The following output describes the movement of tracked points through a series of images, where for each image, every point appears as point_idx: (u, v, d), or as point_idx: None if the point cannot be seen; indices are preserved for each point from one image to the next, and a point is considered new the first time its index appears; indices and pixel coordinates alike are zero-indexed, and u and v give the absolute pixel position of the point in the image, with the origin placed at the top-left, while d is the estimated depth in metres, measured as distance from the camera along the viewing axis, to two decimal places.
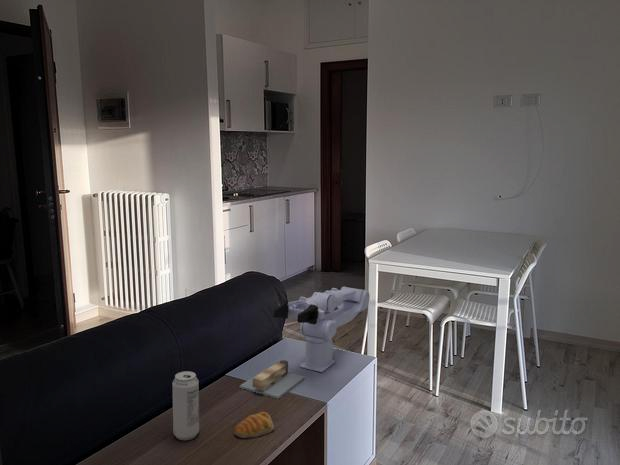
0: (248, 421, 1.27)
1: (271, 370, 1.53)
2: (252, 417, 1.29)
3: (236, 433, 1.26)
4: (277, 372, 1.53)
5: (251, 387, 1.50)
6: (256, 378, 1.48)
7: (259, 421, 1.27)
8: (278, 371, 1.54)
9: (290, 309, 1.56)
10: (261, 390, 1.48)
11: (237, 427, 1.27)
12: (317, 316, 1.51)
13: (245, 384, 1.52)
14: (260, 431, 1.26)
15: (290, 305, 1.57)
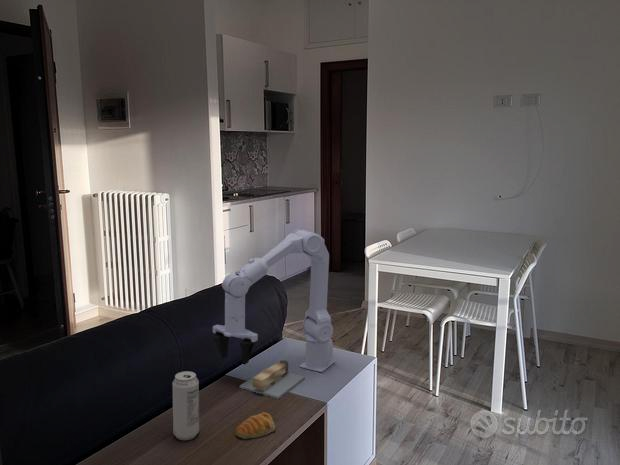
0: (250, 422, 1.27)
1: (271, 370, 1.53)
2: (253, 418, 1.29)
3: (238, 434, 1.25)
4: (277, 372, 1.53)
5: (251, 387, 1.50)
6: (256, 378, 1.48)
7: (260, 422, 1.27)
8: (278, 371, 1.54)
9: None
10: (261, 390, 1.48)
11: (238, 428, 1.26)
12: None
13: (245, 384, 1.52)
14: (262, 432, 1.26)
15: None
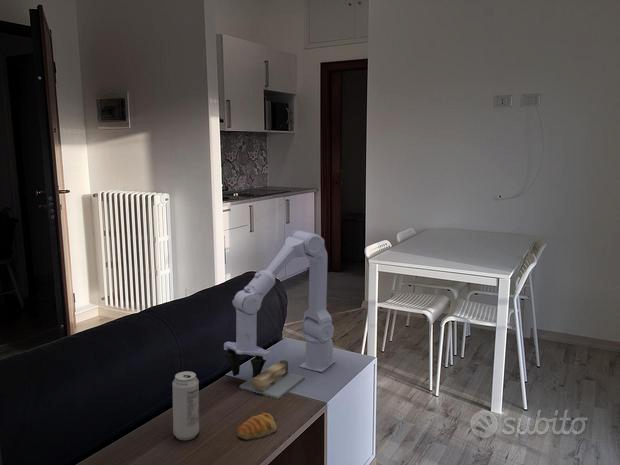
0: (251, 423, 1.27)
1: (271, 370, 1.53)
2: (255, 418, 1.28)
3: (239, 435, 1.25)
4: (277, 372, 1.53)
5: (251, 387, 1.50)
6: (256, 378, 1.48)
7: (262, 422, 1.27)
8: (278, 371, 1.54)
9: None
10: (261, 390, 1.48)
11: (240, 429, 1.26)
12: None
13: (245, 384, 1.52)
14: (263, 432, 1.26)
15: None
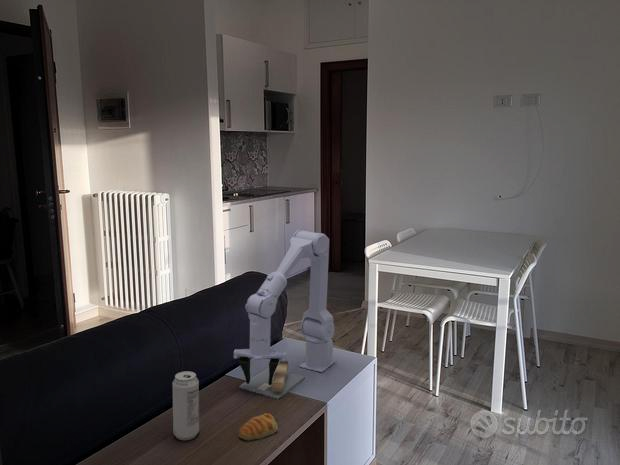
0: (252, 423, 1.27)
1: (281, 372, 1.52)
2: (256, 419, 1.28)
3: (241, 435, 1.25)
4: (286, 372, 1.53)
5: (251, 387, 1.50)
6: (275, 381, 1.46)
7: (263, 423, 1.27)
8: (286, 372, 1.54)
9: None
10: (261, 390, 1.48)
11: (241, 429, 1.26)
12: None
13: (245, 384, 1.52)
14: (265, 433, 1.26)
15: None
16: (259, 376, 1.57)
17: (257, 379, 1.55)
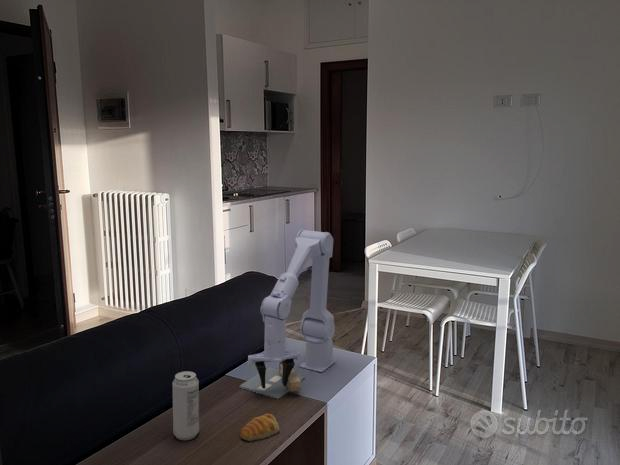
0: (254, 424, 1.26)
1: None
2: (257, 419, 1.28)
3: (242, 436, 1.24)
4: None
5: (251, 387, 1.50)
6: (293, 381, 1.46)
7: (265, 423, 1.27)
8: None
9: None
10: (261, 390, 1.48)
11: (243, 430, 1.25)
12: None
13: (245, 384, 1.52)
14: (266, 433, 1.25)
15: None
16: (259, 376, 1.57)
17: (257, 379, 1.55)
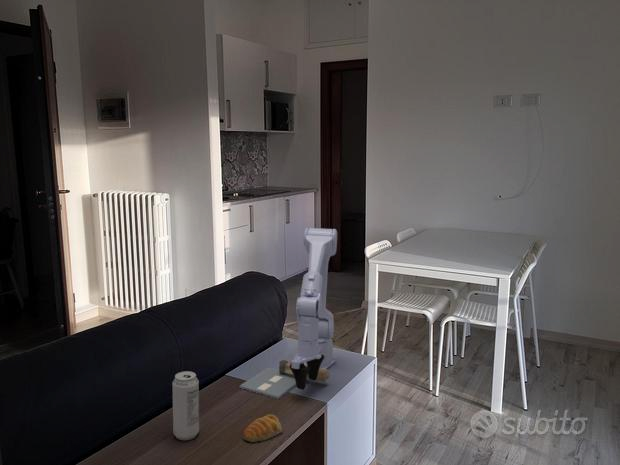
0: (257, 425, 1.26)
1: None
2: (260, 420, 1.27)
3: (246, 437, 1.24)
4: None
5: (251, 387, 1.50)
6: (324, 372, 1.53)
7: (268, 424, 1.26)
8: None
9: None
10: (261, 390, 1.48)
11: (246, 431, 1.25)
12: None
13: (245, 384, 1.52)
14: (270, 434, 1.25)
15: None
16: (259, 376, 1.57)
17: (257, 379, 1.55)
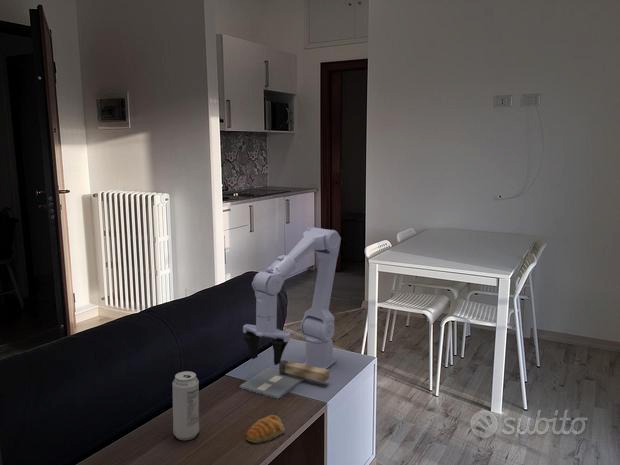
0: (259, 426, 1.26)
1: (305, 366, 1.56)
2: (262, 421, 1.27)
3: (249, 439, 1.23)
4: None
5: (251, 387, 1.50)
6: (324, 372, 1.53)
7: (270, 424, 1.26)
8: None
9: None
10: (261, 390, 1.48)
11: (249, 432, 1.24)
12: None
13: (245, 384, 1.52)
14: (273, 434, 1.25)
15: None
16: (259, 376, 1.57)
17: (257, 379, 1.55)
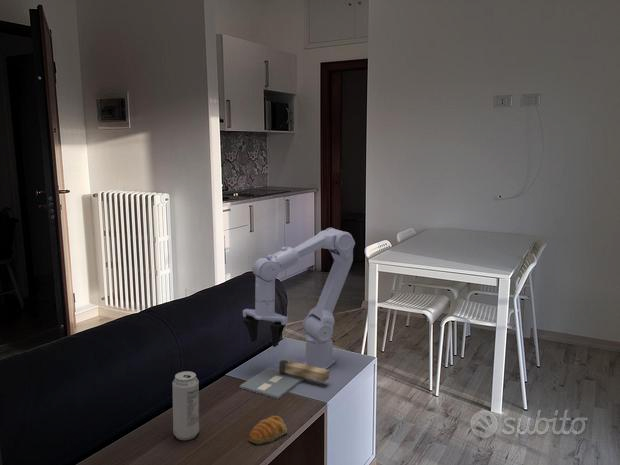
0: (262, 427, 1.25)
1: (305, 366, 1.56)
2: (265, 422, 1.27)
3: (252, 440, 1.23)
4: None
5: (251, 387, 1.50)
6: (324, 372, 1.53)
7: (273, 425, 1.26)
8: None
9: None
10: (261, 390, 1.48)
11: (252, 433, 1.24)
12: None
13: (245, 384, 1.52)
14: (275, 435, 1.25)
15: None
16: (259, 376, 1.57)
17: (257, 379, 1.55)
